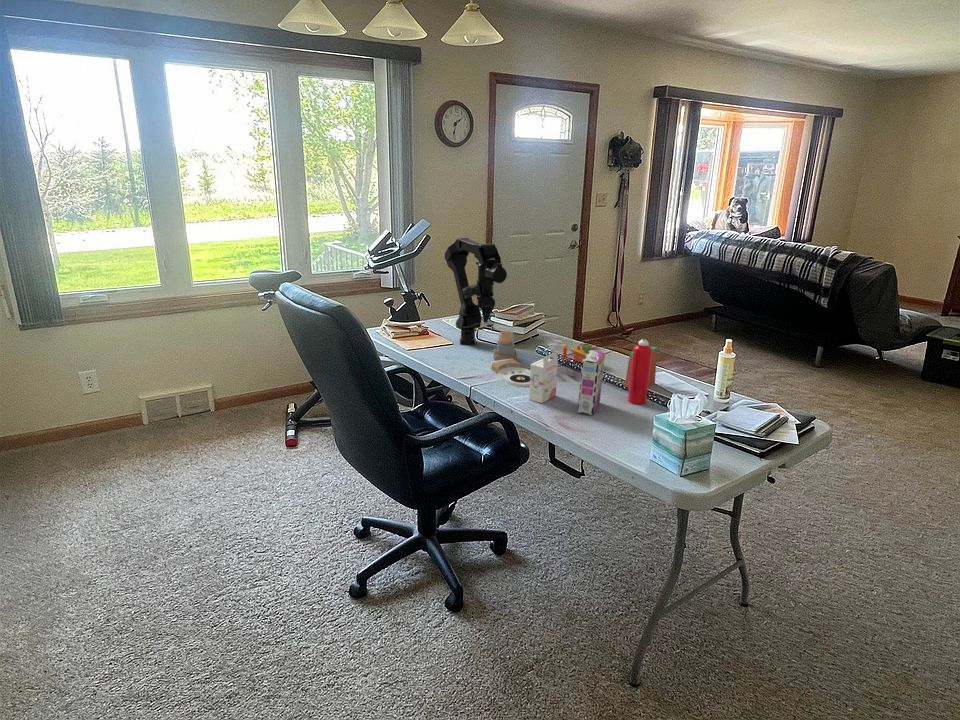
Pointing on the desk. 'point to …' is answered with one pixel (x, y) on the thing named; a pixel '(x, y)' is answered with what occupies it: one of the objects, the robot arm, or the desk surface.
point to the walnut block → (504, 356)
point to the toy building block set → (583, 351)
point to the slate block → (506, 349)
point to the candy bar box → (591, 382)
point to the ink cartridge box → (543, 378)
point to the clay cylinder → (505, 338)
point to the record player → (511, 372)
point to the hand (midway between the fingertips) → (484, 319)
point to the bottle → (640, 373)
